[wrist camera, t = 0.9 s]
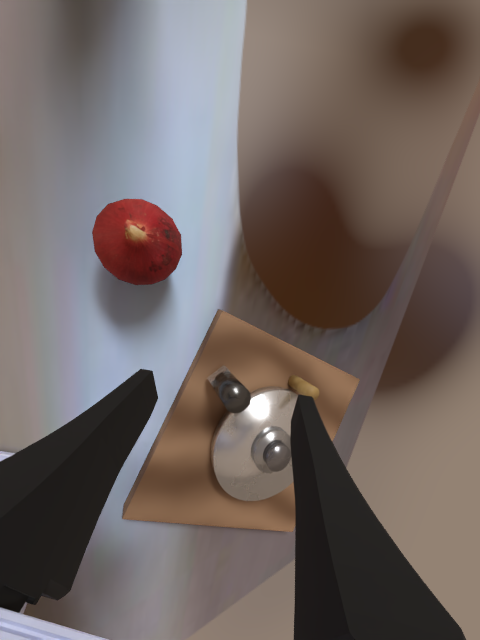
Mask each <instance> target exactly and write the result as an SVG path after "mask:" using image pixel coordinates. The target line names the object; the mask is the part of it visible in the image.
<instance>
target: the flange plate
mask: <svg viewBox="0 0 480 640" xmlns="http://www.w3.org/2000/svg"><path fill="white" fill-rule="evenodd" d="M207 379H208V380H209V382H210V383H211V385H212V386H213V389H214V390H215V392H216V393H217V395H218V397H219V398H220V400H221V401H222V403H223V404H224V406H225V407H226V409H227V412H226V413H225V414H224V416H223V417H222V418H221V420H220V422H219V424H218V426H217V428H216V430H215V433H214V436H213V439H212V444H211V462H212V466H213V469H214V472H215V475H216V477H217V480H218V482H219V484H220V485H221V487H222V488H223V489H224V490H225V491H226V492H227V493H228V494H229V495H231V496H232V497H234V498H237V499H239V500H244V501H258V500H263V499H266V498H269V497H272V496H274V495H276V494H278V493H279V492H281V491H283V490H284V489H285V488H287V487H288V486H289V485H290V484H291V483H292V482H293V470H292V458H291V445H290V433H291V418H292V415H293V411H294V408H295V404H296V401H297V397H298V395H297V394H296V393H294V392H293V391H291V390H289V389H286V388H283V387H277V386H269V387H263V388H260V389H256V390H254V391H252V392H249V390H248V389H247V388H246V387H245V386H244V385H243V384H242V383H241V382H240V381H239V380H238V379H237V378H236V377H235V376H234V375H233V374H232V373H231V372H230V371H229V370H228V368H227V367H226V366H225V365H223V366H222V367H221V368H220V369H218V370H217V371H216V372H214V373H213V374H212V375H211V376H209V377H208V378H207Z"/></svg>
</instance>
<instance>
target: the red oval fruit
mask: <svg viewBox="0 0 480 640" xmlns="http://www.w3.org/2000/svg"><path fill="white" fill-rule="evenodd" d="M92 234H93V241H94V248H95V252H96V254H97V256H98V257H99V259H100V261H101V263H102V264H103V266H104V268H106V269H107V270H108V271H109V272H110V273H112V274H113V275H114V276H115V277H117V278H118V279H119V280H122V281H125V282H128V283H131V284H134V285H148V284H154V283H156V282H159V281H162V280H165V279H166V278H167V277H168V276H169V275H170V274H171V273H172V272H173V271H174V270H175V269H176V267H177V265H178V263H179V260H180V258H181V255H182V247H181V234H180V232H179V231H178V229H177V227H176V225H175V223H174V221H173V219H172V218H171V217H170V216H168V215H167V214H166V213H165V212H164V211H162V210H161V209H160V208H159V207H158V206H156V205H154V204H152V203H149V202H147V201H145V200H142V199H123V200H120V201H117V202H114V203H110V204H108V205H107V206H106V207H105V208H104V209H103V210H102V211H101V212H100V213H99V215H98V216H97V218H96V221H95V225H94V228H93V232H92Z"/></svg>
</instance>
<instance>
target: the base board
mask: <svg viewBox="0 0 480 640" xmlns="http://www.w3.org/2000/svg"><path fill="white" fill-rule="evenodd" d="M223 365H225V366H226V367H227V368H228V370H229V371H230V372H231V373H232V374H233V375H234V376H235V377H236V378H237V379H238V380H239V381H240V382H241V383H242V384H243V385H244V386H245V387H246V388H247V389H248V390H249V392H252V391H254V390H256V389H260V388H263V387H269V386H277V387H283V388H286V389H289V390H291V391H293V392H294V393H296V394H297V395H298V394H299V395H306V396H312V397H313V399H314V401H315V404H316V407H317V409H318V412H319V414H320V417H321V419H322V421H323V423H324V426H325V428H326V430H327V432H328V434H329V436H330V438H331V440H332V441H333V439H334V437H335V435H336V432H337V430H338V428H339V426H340V423H341V421H342V419H343V416H344V414H345V412H346V410H347V407H348V405H349V403H350V401H351V398H352V396H353V394H354V392H355V389H356V387H357V385H358V383H359V380H360V379H358V378H356V377H354V376H352V375H350V374H348V373H346V372H344V371H342V370H340V369H338V368H336V367H334V366H332V365H330V364H328V363H326V362H324V361H322V360H320V359H318V358H316V357H314V356H312V355H310V354H308V353H306V352H304V351H302V350H300V349H298V348H296V347H294V346H292V345H290V344H288V343H286V342H284V341H282V340H280V339H278V338H276V337H274V336H272V335H270V334H268V333H266V332H264V331H262V330H260V329H258V328H256V327H254V326H252V325H250V324H248V323H246V322H244V321H242V320H240V319H238V318H236V317H234V316H232V315H230V314H228V313H226V312H224V311H222V310H219V309H218V311H217V313H216V315H215V317H214V319H213V321H212V323H211V325H210V327H209V329H208V331H207V333H206V336H205V338H204V340H203V342H202V344H201V346H200V348H199V350H198V352H197V354H196V356H195V358H194V360H193V362H192V365H191V367H190V369H189V371H188V373H187V375H186V377H185V379H184V381H183V383H182V385H181V387H180V389H179V391H178V394H177V396H176V398H175V400H174V402H173V404H172V406H171V408H170V410H169V412H168V414H167V416H166V418H165V420H164V423H163V425H162V427H161V429H160V431H159V433H158V435H157V437H156V439H155V441H154V443H153V445H152V447H151V449H150V452H149V454H148V456H147V458H146V460H145V462H144V464H143V466H142V468H141V470H140V472H139V474H138V476H137V478H136V481H135V483H134V485H133V487H132V489H131V491H130V493H129V495H128V497H127V499H126V501H125V503H124V508H123V517H122V519H128V520H142V521H155V522H168V523H182V524H195V525H208V526H221V527H235V528H248V529H261V530H275V531H288V532H293V529H294V527H295V494H294V482H292V483H291V484H290V485H289V486H288V487H287V488H285V489H284V490H283V491H281V492H279V493H278V494H276V495H274V496H272V497H269V498H266V499H263V500H258V501H244V500H239V499H237V498H234V497H232V496H231V495H229V494H228V493H227V492H226V491H225V490H224V489H223V488H222V487H221V485H220V484H219V482H218V480H217V477H216V475H215V472H214V469H213V466H212V462H211V444H212V439H213V436H214V433H215V430H216V428H217V426H218V424H219V422H220V420H221V418H222V417H223V416H224V414H225V413H226V412H227V409H226V407H225V406H224V404H223V403H222V401H221V400H220V398H219V397H218V395H217V393H216V392H215V390H214V389H213V386H212V385H211V383H210V382H209V380H208V379H207V378H208V377H209V376H211V375H212V374H213V373H214V372H216V371H217V370H218V369H220V368H221V367H222V366H223Z"/></svg>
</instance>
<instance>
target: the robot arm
mask: <svg viewBox="0 0 480 640" xmlns="http://www.w3.org/2000/svg"><path fill="white" fill-rule="evenodd" d="M157 399H158V395H157V390H156V386H155V381H154V376H153V371H150V370H144V369H140V370H139V371H138V372H136V373H135V374H134V375H132V376H131V377H130V378H129V379H127V380H126V381H125V382H124V383H122V384H121V385H120V386H118V387H117V388H116V389H115V390H113V391H112V392H111V393H109V394H108V395H107V396H105V397H104V398H103V399H101V400H100V401H99V402H97V403H96V404H95V405H93V406H92V407H90V408H89V409H88V410H86V411H85V412H83V413H82V414H80V415H79V416H78V417H76V418H75V419H73V420H72V421H70V422H69V423H67V424H66V425H64V426H62V427H61V428H59V429H58V430H56V431H54V432H53V433H51V434H49V435H48V436H46V437H44V438H43V439H41V440H39V441H37V442H35V443H34V444H32V445H30V446H28V447H26V448H25V449H23V450H21V451H19V452H17V453H10V452H3V451H0V640H109V639H106V638H102V637H99V636H95V635H92V634H89V633H85V632H82V631H78V630H75V629H72V628H68V627H65V626H61V625H58V624H55V623H51V622H48V621H45V620H41V619H38V618H34V617H31V616H28V615H24V614H23V613H24V611H25V608H26V605H27V603H30V604H33V605H35V604H36V603H37V602H38V600H39V598H40V597H41V596H44V597H48V598H52V599H55V600H59V599H61V598H62V597H63V596H65V595H66V594H67V593H68V592H69V591H70V590H71V587H72V584H73V582H74V579H75V576H76V574H77V571H78V568H79V566H80V563H81V561H82V558H83V555H84V553H85V550H86V548H87V545H88V543H89V540H90V538H91V535H92V533H93V530H94V528H95V526H96V523H97V521H98V518H99V516H100V514H101V511H102V509H103V507H104V505H105V502H106V500H107V498H108V495H109V493H110V491H111V489H112V487H113V485H114V482H115V480H116V478H117V476H118V474H119V472H120V470H121V468H122V466H123V464H124V462H125V461H126V459H127V457H128V455H129V454H130V452H131V450H132V448H133V447H134V445H135V443H136V441H137V440H138V438H139V436H140V434H141V433H142V431H143V429H144V427H145V425H146V424H147V422H148V420H149V418H150V416H151V414H152V411H153V409H154V407H155V404H156V402H157ZM290 445H291V458H292V470H293V482H294V494H295V525H296V545H295V615H294V640H466V638H465V636H464V634H463V632H462V630H461V628H460V627H459V625H458V624H457V623H456V622H455V620H454V619H453V618H452V617H451V615H450V614H449V613H448V612H447V611H446V610H445V608H444V607H443V606H442V604H441V603H440V602H439V601H438V599H437V598H436V597H435V596H434V594H433V593H432V592H431V591H430V589H429V588H428V587H427V585H426V584H425V583H424V582H423V581H422V579H421V578H420V576H419V575H418V574H417V573H416V571H415V570H414V569H413V568H412V566H411V565H410V563H409V562H408V561H407V559H406V558H405V557H404V555H403V554H402V553H401V551H400V550H399V548H398V547H397V546H396V544H395V543H394V541H393V540H392V539H391V537H390V536H389V534H388V533H387V531H386V530H385V529H384V527H383V526H382V524H381V523H380V522H379V520H378V519H377V517H376V516H375V514H374V513H373V511H372V510H371V508H370V507H369V505H368V504H367V502H366V501H365V499H364V497H363V496H362V494H361V493H360V491H359V490H358V488H357V486H356V484H355V483H354V481H353V479H352V478H351V476H350V474H349V473H348V471H347V469H346V467H345V465H344V464H343V462H342V460H341V458H340V456H339V454H338V452H337V450H336V449H335V447H334V444H333V442H332V440H331V438H330V436H329V434H328V432H327V430H326V428H325V426H324V423H323V421H322V419H321V417H320V414H319V412H318V409H317V407H316V404H315V401H314V399H313V397H312V396H306V395H299V394H298V397H297V401H296V404H295V408H294V411H293V415H292V418H291V433H290Z"/></svg>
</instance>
